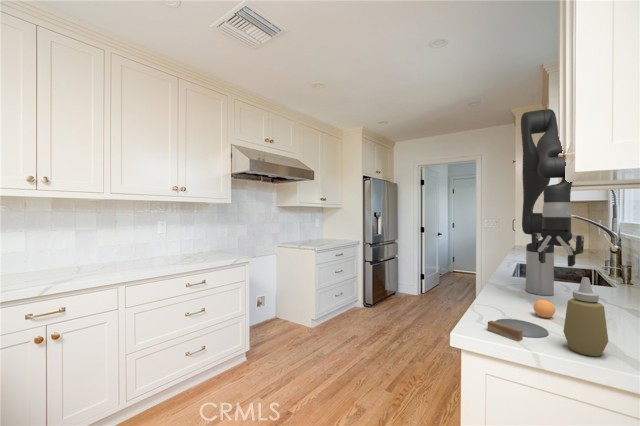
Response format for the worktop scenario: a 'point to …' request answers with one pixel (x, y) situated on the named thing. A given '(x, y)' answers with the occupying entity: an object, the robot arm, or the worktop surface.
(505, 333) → the strip
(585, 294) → the squeeze bottle
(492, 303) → the worktop surface
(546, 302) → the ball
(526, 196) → the robot arm
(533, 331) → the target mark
